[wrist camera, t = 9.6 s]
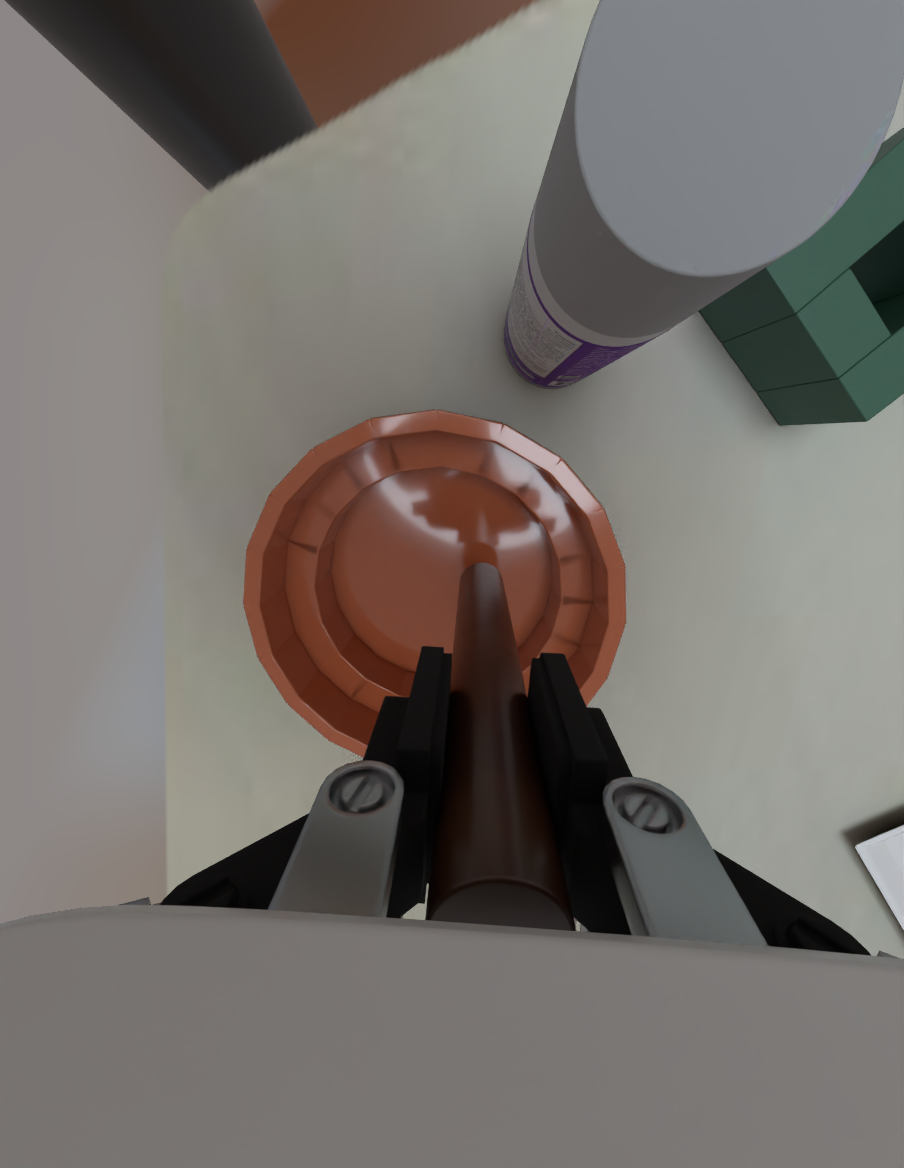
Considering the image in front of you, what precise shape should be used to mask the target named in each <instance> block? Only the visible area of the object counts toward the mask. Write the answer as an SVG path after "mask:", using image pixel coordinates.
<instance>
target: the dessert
mask: <svg viewBox="0 0 904 1168" xmlns="http://www.w3.org/2000/svg"><path fill="white" fill-rule="evenodd" d="M855 848H856V850H857V852H858V853H859V855H860V857H861V858H862V860H863V862H864V863H865V865H866V867H867V869H868V870H869V872H870V874H871V875H872V877H873V879H874V881H875V882H876V884H877V886H878V887H879V889H880V891H881V892H882V894H883V896H884V898H885V899H886V901H887V903H888V904H889V906H890V908H891V909H892V911H893V913H894V915H895V916H896V918H897V920H898V921H899V923H900V925H901V926H902V928H903V930H904V824H903V825H901V826H899V827H896V828H894V829H892V830H889V831H887V832H885V833H882V834H880V835H877V836H875V837H873V838H870V839H868V840H866V841H863V842H861V843H859V844H857V845H856V846H855Z"/></svg>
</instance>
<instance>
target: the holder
mask: <svg viewBox="0 0 904 1168" xmlns="http://www.w3.org/2000/svg"><path fill="white" fill-rule="evenodd" d="M699 311H700V313H701V314H702V316H703V317H704V319H705V320H706V321H707V323H708V324H709V326H710V327H711V328H712V330H713V331H714V333H715V334H716V336H717V337H718V338H719V340H720V341H721V342H723V345H724V347H725V348H726V349H727V351H728V352H729V354H730V355H731V356H732V358H733V359H734V361H735V362H736V364H737V365H738V366H739V368H740V369H741V371H742V372H743V373H744V375H745V376H746V378H747V379H748V381H749V382H750V383H751V385H752V386H753V388H754V389H755V390H756V391H758V392H757V393H758V395H759V396H760V398H761V399H762V400H763V402H764V403H765V405H766V406H767V407H768V409H769V410H770V412H771V413H772V415H773V416H774V417H775V419H776V420H777V422H778V423H779V425H802V424H823V423H845V422H866V421H868V420H870V419H871V418H872V417H874V416H875V415H876V414H878V413H879V412H880V411H881V410H883V409H884V408H885V407H887V406H888V405H889V404H891V403H892V402H893V401H895V400H896V399H897V398H898V397H900V396H901V395H902V394H904V128H902V129H901V130H900V131H898V132H897V133H896V134H894V135H893V136H891V137H890V138H889V139H887V140H886V141H885V142H883V143H882V145H881V147H880V149H879V151H878V153H877V155H876V157H875V159H874V161H873V162H872V164H871V166H870V168H869V169H868V171H867V173H866V174H865V176H864V177H863V179H862V180H861V182H860V183H859V185H858V186H857V187H856V189H855V190H854V192H853V193H852V194H851V196H850V197H849V198H848V199H847V201H846V202H845V203H844V204H843V206H842V207H841V208H840V209H839V210H838V211H837V212H836V213H835V215H834V216H833V217H832V218H831V219H830V220H829V221H828V222H827V223H826V224H825V225H824V226H823V227H821V228H820V229H819V230H818V231H817V232H816V233H815V234H813V235H812V236H811V237H810V238H808V239H807V240H806V241H805V242H803V243H802V244H801V245H799V246H798V247H796V248H795V249H793V250H792V251H790V252H788V253H787V254H785V255H784V256H782V257H781V258H779V259H778V260H776V261H775V262H773V263H771V264H770V265H768V266H767V267H765V268H764V269H762V270H761V271H759V272H757V273H756V274H754V275H753V276H751V277H750V278H748V279H747V280H745V281H744V282H742V283H740V284H739V285H737V286H736V287H734V288H733V289H731V290H730V291H728V292H726V293H725V294H723V295H722V296H720V297H719V298H717V299H716V300H714V301H713V302H711V303H709V304H708V305H706V306H705V307H703V308H702V309H700V310H699Z"/></svg>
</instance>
